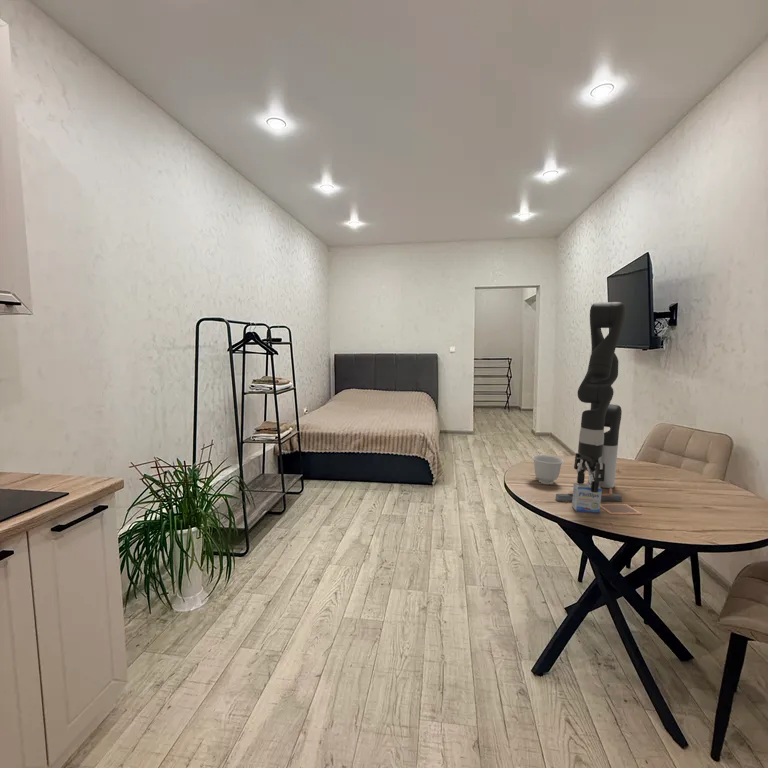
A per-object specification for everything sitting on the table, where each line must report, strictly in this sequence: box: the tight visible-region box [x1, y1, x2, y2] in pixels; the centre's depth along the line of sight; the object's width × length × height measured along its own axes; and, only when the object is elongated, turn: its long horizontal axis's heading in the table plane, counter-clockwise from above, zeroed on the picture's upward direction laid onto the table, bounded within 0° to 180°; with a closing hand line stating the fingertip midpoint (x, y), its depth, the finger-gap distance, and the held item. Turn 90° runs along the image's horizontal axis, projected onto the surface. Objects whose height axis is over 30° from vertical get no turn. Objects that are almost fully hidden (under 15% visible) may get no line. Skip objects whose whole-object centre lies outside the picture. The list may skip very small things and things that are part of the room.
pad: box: [600, 503, 643, 515], centre depth 144 cm, size 8×11×1 cm
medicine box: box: [571, 482, 603, 514], centre depth 142 cm, size 8×4×9 cm, turn 82°
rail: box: [555, 488, 623, 502], centre depth 151 cm, size 2×24×4 cm, turn 94°
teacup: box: [531, 453, 564, 485], centre depth 171 cm, size 12×15×10 cm
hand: (587, 487), depth 142 cm, fingers open, 8 cm apart
